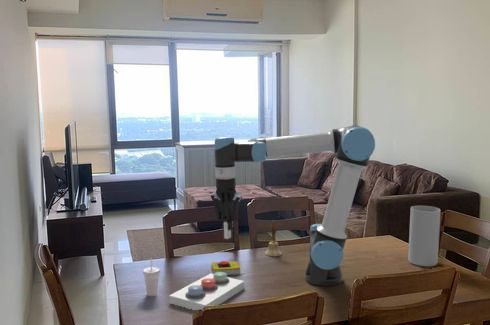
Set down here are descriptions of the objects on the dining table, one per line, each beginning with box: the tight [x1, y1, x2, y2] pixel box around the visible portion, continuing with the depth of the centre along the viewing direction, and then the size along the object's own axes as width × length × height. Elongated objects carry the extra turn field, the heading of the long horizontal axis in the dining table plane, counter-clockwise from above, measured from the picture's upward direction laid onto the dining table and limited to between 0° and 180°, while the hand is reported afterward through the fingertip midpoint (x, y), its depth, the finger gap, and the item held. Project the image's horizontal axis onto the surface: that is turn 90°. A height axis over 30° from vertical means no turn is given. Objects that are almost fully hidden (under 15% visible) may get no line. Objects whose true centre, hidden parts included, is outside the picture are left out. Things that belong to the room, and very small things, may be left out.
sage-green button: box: [213, 272, 228, 282], centre depth 185 cm, size 5×5×2 cm
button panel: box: [168, 273, 245, 311], centre depth 178 cm, size 16×26×3 cm, turn 149°
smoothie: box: [142, 257, 161, 297], centre depth 179 cm, size 6×6×14 cm
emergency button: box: [207, 260, 246, 276], centre depth 204 cm, size 9×4×15 cm
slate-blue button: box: [188, 285, 203, 297], centre depth 171 cm, size 5×5×2 cm
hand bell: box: [264, 220, 283, 257], centre depth 227 cm, size 8×8×16 cm
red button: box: [201, 278, 215, 289], centre depth 178 cm, size 5×5×2 cm
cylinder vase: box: [407, 205, 441, 268], centre depth 214 cm, size 12×12×25 cm
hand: (227, 237), depth 184 cm, fingers closed
